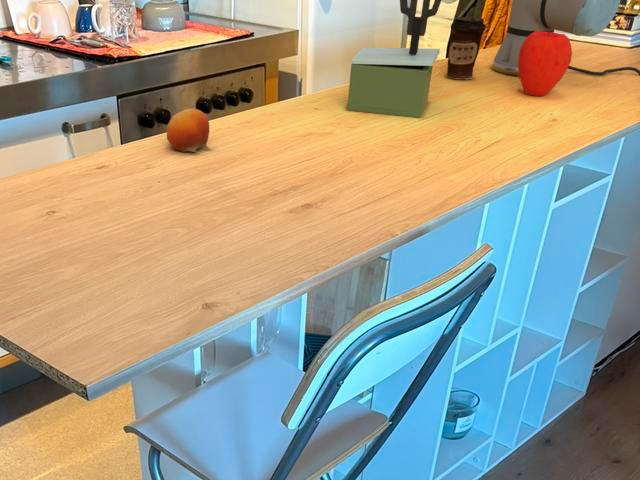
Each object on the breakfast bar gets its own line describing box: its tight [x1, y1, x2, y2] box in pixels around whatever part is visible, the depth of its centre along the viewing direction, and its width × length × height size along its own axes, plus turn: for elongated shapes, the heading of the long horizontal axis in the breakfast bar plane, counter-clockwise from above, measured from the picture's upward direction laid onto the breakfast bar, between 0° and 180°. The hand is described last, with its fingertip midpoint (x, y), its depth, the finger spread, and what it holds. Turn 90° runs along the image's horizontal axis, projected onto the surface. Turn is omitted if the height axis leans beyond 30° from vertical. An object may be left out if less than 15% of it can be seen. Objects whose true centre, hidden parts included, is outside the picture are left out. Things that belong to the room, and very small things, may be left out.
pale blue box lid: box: [351, 46, 441, 67], centre depth 175 cm, size 17×14×1 cm
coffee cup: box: [446, 16, 487, 80], centre depth 200 cm, size 9×8×13 cm
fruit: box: [166, 108, 210, 153], centre depth 151 cm, size 8×8×8 cm
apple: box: [518, 30, 573, 97], centre depth 189 cm, size 12×12×13 cm
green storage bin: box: [346, 63, 434, 119], centre depth 178 cm, size 16×14×9 cm
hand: (413, 52), depth 173 cm, fingers closed
